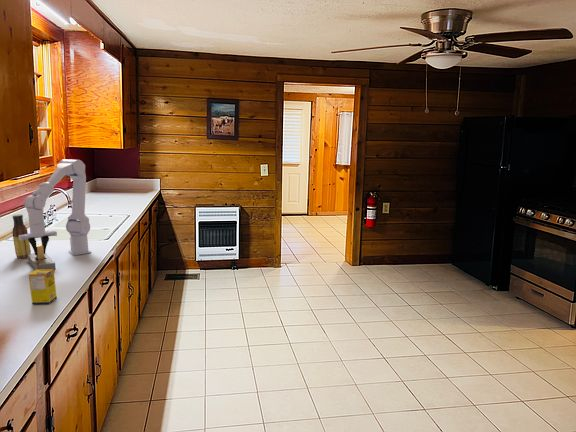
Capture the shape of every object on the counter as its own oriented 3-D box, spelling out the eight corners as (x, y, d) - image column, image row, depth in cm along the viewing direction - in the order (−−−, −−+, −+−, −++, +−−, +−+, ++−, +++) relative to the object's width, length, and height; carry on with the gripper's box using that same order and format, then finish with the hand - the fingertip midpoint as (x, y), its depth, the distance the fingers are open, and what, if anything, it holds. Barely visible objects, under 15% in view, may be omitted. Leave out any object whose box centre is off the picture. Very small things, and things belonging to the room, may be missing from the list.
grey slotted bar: (27, 260, 218) (27, 254, 218) (44, 258, 223) (44, 251, 222) (37, 272, 201) (36, 265, 201) (55, 269, 205) (55, 262, 205)
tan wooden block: (36, 258, 212) (35, 244, 211) (42, 257, 213) (41, 244, 212) (38, 260, 209) (37, 246, 208) (44, 259, 210) (43, 245, 209)
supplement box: (57, 298, 172) (54, 268, 170) (49, 304, 166) (46, 273, 164) (39, 298, 172) (36, 268, 169) (31, 304, 166) (28, 274, 164)
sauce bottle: (27, 254, 229) (23, 213, 225) (33, 256, 225) (29, 214, 221) (13, 257, 224) (7, 215, 220) (18, 259, 220) (13, 216, 216)
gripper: (19, 227, 201) (22, 258, 203) (57, 222, 209) (60, 253, 212) (16, 224, 206) (20, 255, 209) (53, 220, 215) (56, 249, 218)
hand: (40, 254), depth 211 cm, fingers closed on tan wooden block, 2 cm apart
